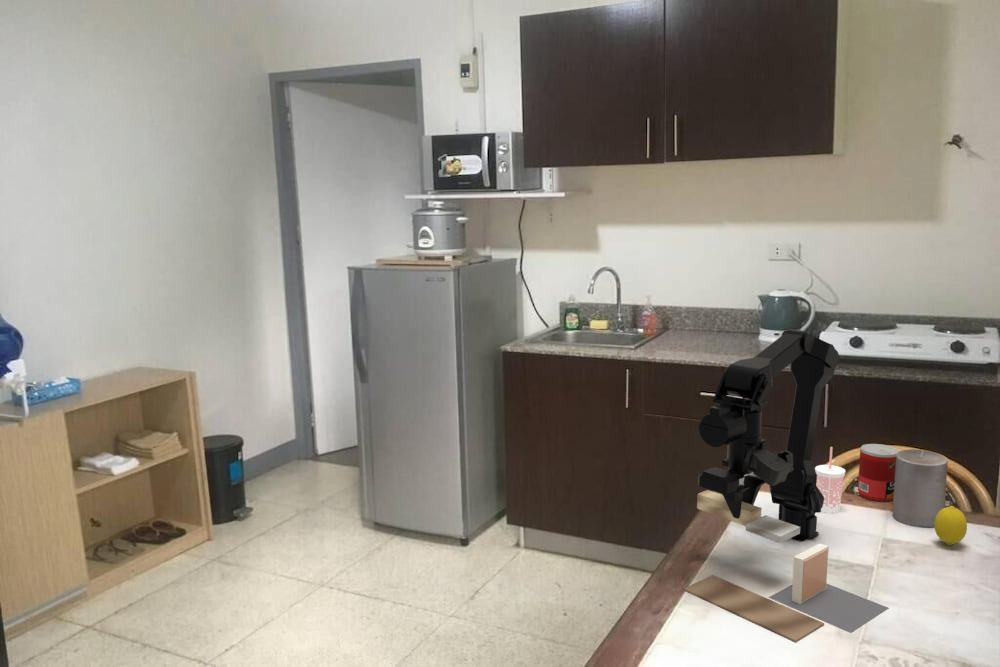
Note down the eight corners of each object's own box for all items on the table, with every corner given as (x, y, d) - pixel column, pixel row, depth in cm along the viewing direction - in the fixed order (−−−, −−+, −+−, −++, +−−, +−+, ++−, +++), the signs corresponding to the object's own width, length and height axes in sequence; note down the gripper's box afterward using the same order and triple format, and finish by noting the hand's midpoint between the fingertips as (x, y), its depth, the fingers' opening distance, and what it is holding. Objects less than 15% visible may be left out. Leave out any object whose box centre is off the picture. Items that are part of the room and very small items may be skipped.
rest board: (683, 592, 148) (683, 588, 148) (712, 578, 153) (712, 574, 152) (795, 645, 131) (795, 640, 131) (824, 627, 136) (824, 623, 135)
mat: (768, 599, 145) (768, 597, 145) (807, 578, 152) (807, 575, 152) (850, 635, 133) (851, 632, 133) (889, 610, 140) (889, 607, 140)
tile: (791, 600, 143) (793, 556, 142) (817, 585, 148) (820, 543, 147) (801, 604, 142) (803, 560, 141) (827, 589, 147) (829, 546, 145)
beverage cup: (843, 505, 185) (847, 444, 182) (842, 516, 179) (846, 453, 177) (814, 501, 187) (817, 441, 184) (811, 512, 182) (815, 449, 179)
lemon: (969, 552, 161) (972, 512, 160) (937, 550, 162) (941, 510, 161) (959, 539, 166) (963, 501, 165) (929, 538, 168) (932, 500, 166)
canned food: (893, 504, 185) (897, 456, 183) (854, 498, 189) (857, 451, 187) (898, 493, 191) (901, 446, 189) (860, 487, 195) (863, 441, 193)
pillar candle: (908, 506, 184) (912, 440, 181) (953, 520, 176) (958, 451, 173) (882, 517, 178) (886, 449, 176) (927, 532, 170) (932, 461, 168)
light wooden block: (692, 510, 160) (692, 495, 159) (712, 502, 163) (712, 487, 163) (780, 543, 145) (780, 526, 144) (799, 533, 149) (800, 517, 148)
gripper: (751, 456, 140) (748, 544, 143) (814, 433, 151) (810, 515, 154) (697, 440, 148) (695, 524, 151) (760, 420, 160) (757, 498, 163)
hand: (741, 515), depth 154 cm, fingers closed on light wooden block, 3 cm apart
